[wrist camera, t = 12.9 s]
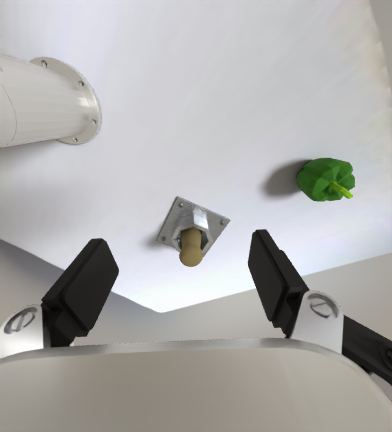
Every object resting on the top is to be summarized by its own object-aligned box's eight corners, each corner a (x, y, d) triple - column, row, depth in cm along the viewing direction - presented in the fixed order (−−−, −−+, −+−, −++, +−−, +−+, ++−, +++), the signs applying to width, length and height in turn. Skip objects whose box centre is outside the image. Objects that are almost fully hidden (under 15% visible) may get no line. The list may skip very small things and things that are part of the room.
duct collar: (156, 239, 46) (153, 250, 42) (177, 196, 39) (176, 205, 36) (203, 255, 50) (204, 267, 46) (229, 219, 43) (233, 229, 39)
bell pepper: (285, 168, 36) (313, 185, 28) (323, 146, 34) (367, 156, 25) (296, 196, 40) (324, 218, 32) (332, 177, 38) (372, 195, 29)
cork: (178, 237, 45) (174, 268, 36) (182, 219, 42) (179, 248, 33) (199, 240, 46) (200, 272, 37) (205, 223, 43) (208, 253, 34)
